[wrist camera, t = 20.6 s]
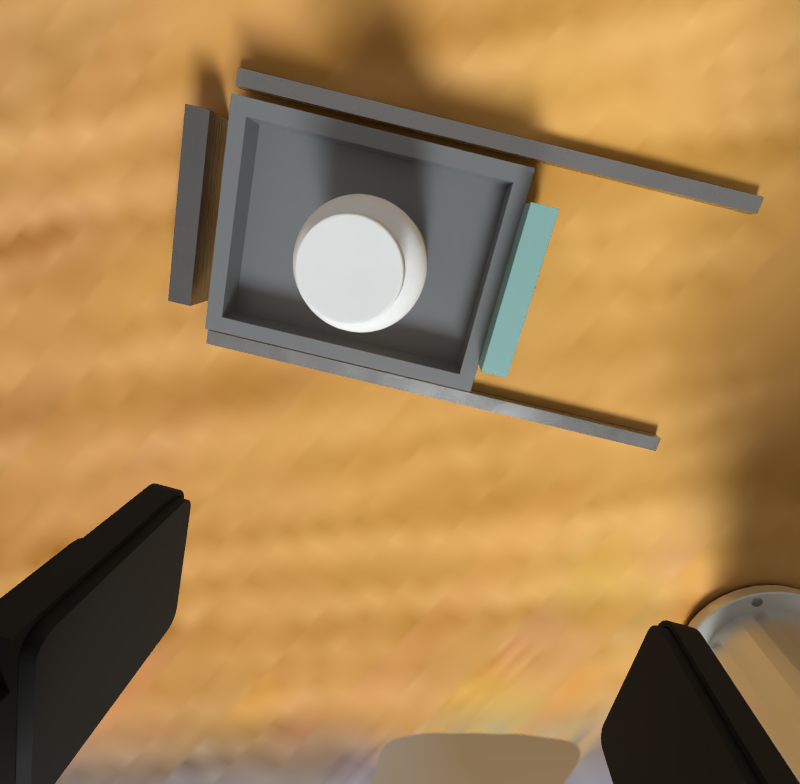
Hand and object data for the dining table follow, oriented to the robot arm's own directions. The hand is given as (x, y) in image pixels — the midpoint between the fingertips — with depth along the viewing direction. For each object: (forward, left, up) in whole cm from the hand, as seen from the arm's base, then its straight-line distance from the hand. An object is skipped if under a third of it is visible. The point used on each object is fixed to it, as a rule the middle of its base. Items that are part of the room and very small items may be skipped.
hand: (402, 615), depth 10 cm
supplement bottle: (+4, -5, -27) cm, 27 cm away
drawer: (+5, -5, -28) cm, 29 cm away
